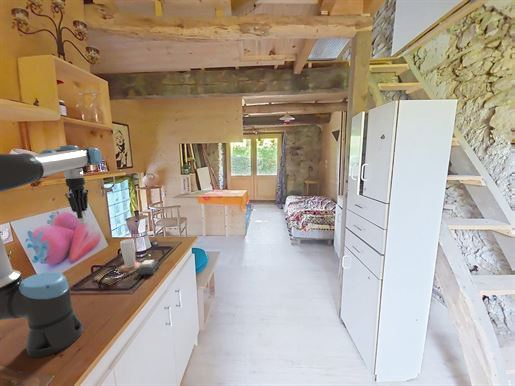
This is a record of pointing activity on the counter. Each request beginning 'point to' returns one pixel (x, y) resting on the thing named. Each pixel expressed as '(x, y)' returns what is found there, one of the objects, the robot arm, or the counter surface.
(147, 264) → the button
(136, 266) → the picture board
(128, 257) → the drinking glass
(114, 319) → the counter surface
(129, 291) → the counter surface
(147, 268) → the button housing
